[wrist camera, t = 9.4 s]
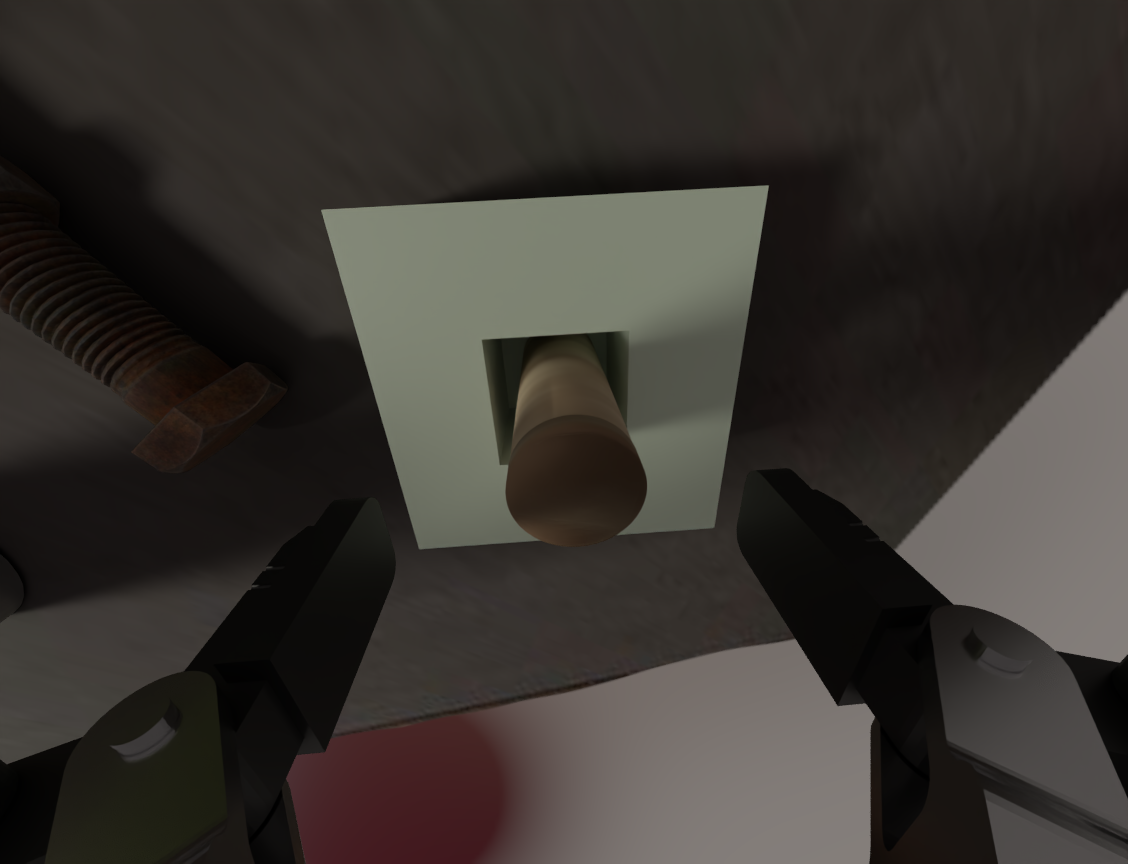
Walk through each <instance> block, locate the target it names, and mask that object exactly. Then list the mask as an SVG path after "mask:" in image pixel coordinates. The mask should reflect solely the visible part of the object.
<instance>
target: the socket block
mask: <svg viewBox="0 0 1128 864" xmlns="http://www.w3.org/2000/svg"><path fill="white" fill-rule="evenodd" d="M768 188H769V185H767V186H749V187H730V188H712V189H694V190H676V191H657V192H639V193H621V194H603V195H584V196H566V197H548V198H529V199H511V200H493V201H475V202H456V203H438V204H420V205H402V206H383V207H365V208H347V209H329V210H321V211H322V214H323V218H324V221H325V225H326V228H327V232H328V235H329V239H330V242H331V246H332V249H333V252H334V256H335V259H336V263H337V266H338V270H339V273H340V277H341V280H342V284H343V287H344V291H345V294H346V297H347V301H348V304H349V308H350V311H351V315H352V318H353V322H354V325H355V329H356V332H357V336H358V339H359V342H360V346H361V349H362V353H363V356H364V360H365V363H366V367H367V370H368V374H369V377H370V381H371V384H372V387H373V391H374V394H375V398H376V401H377V405H378V408H379V412H380V415H381V419H382V422H383V426H384V429H385V433H386V436H387V439H388V443H389V446H390V450H391V453H392V457H393V460H394V464H395V467H396V471H397V474H398V478H399V481H400V484H401V488H402V491H403V495H404V498H405V502H406V505H407V509H408V512H409V516H410V519H411V523H412V526H413V529H414V533H415V536H416V540H417V543H418V547H419V549H430V548H444V547H457V546H471V545H485V544H499V543H513V542H526V541H540V540H539V539H537V538H535V537H533V536H531V535H530V534H528V533H527V532H526V531H524V530H523V529H522V528H521V527H520V526H519V525H518V524H517V522H516V521H515V520H514V518H513V517H512V515H511V513H510V511H509V509H508V506H507V502H506V495H505V489H506V480H507V472H508V464H509V460H510V455H511V447H512V439H513V431H514V424H515V416H516V408H517V400H518V392H519V384H520V376H521V368H522V360H523V352H524V347H525V345H526V342H527V340H528V338H529V337H532V336H548V335H564V334H580V333H586V334H587V335H588V336H589V338H590V339H591V341H592V343H593V346H594V348H595V351H596V353H597V356H598V358H599V361H600V363H601V366H602V368H603V371H604V373H605V376H606V378H607V381H608V383H609V386H610V388H611V391H612V393H613V396H614V398H615V401H616V403H617V405H618V408H619V410H620V413H621V415H622V418H623V420H624V423H625V425H626V428H627V430H628V433H629V435H630V438H631V440H632V442H633V444H634V446H635V448H636V450H637V453H638V455H639V458H640V460H641V463H642V465H643V468H644V470H645V473H646V478H647V494H646V498H645V502H644V505H643V507H642V509H641V511H640V512H639V514H638V515H637V517H636V518H635V519H634V521H633V522H632V523H631V524H630V525H629V526H628V527H627V528H625V529H624V530H623V531H621V532H620V533H619V534H617V535H623V534H637V533H650V532H664V531H678V530H692V529H705V528H714V525H715V519H716V513H717V507H718V500H719V494H720V488H721V482H722V475H723V469H724V463H725V457H726V450H727V444H728V438H729V432H730V425H731V419H732V413H733V407H734V400H735V394H736V388H737V382H738V375H739V369H740V363H741V356H742V350H743V344H744V338H745V331H746V325H747V319H748V313H749V306H750V300H751V294H752V288H753V281H754V275H755V269H756V263H757V256H758V250H759V244H760V238H761V231H762V225H763V219H764V213H765V206H766V200H767V194H768Z"/></svg>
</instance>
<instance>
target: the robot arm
mask: <svg viewBox="0 0 1128 864" xmlns="http://www.w3.org/2000/svg"><path fill="white" fill-rule="evenodd" d="M737 540H738V544H739V547H740V550H741V552H742V554H743V556H744V558H745V559H746V561H747V562H748V564H749V566H750V567H751V569H752V570H753V572H754V574H755V575H756V577H757V578H758V580H759V582H760V583H761V585H762V586H763V588H764V589H765V591H766V593H767V594H768V596H769V597H770V599H771V601H772V602H773V604H774V605H775V607H776V609H777V610H778V612H779V613H780V615H781V617H782V618H783V620H784V621H785V623H786V624H787V626H788V628H789V629H790V631H791V632H792V634H793V636H794V637H795V639H796V640H797V642H798V644H799V645H800V647H801V648H802V650H803V651H804V653H805V655H806V656H807V658H808V659H809V661H810V663H811V664H812V666H813V667H814V669H815V671H816V672H817V674H818V675H819V677H820V678H821V680H822V682H823V683H824V685H825V686H826V688H827V689H828V691H829V693H830V694H831V696H832V698H833V699H834V701H835V702H836V704H837V705H838V706H842V705H852V704H863V703H866V704H867V705H868V707H869V709H870V710H871V711H872V713H873V714H874V716H875V718H874V720H873V723H872V725H871V847H870V861H869V864H1128V655H1127V656H1126V657H1125V658H1124V659H1123V660H1122V661H1121V662H1120V663H1118V662H1113V661H1107V660H1102V659H1096V658H1091V657H1085V656H1080V655H1074V654H1069V653H1064V652H1059V651H1054V649H1052V648H1051V647H1050V646H1049V645H1048V644H1046V643H1045V642H1044V641H1043V640H1041V639H1040V638H1039V637H1037V636H1036V635H1034V634H1033V633H1031V632H1030V631H1028V630H1027V629H1025V628H1023V627H1022V626H1020V625H1018V624H1016V623H1014V622H1012V621H1010V620H1008V619H1006V618H1004V617H1001V616H999V615H997V614H994V613H992V612H989V611H986V610H983V609H979V608H975V607H970V606H964V605H953V604H952V603H951V602H950V601H949V600H948V599H947V598H946V597H945V596H944V595H943V594H941V593H940V592H939V591H938V590H937V589H936V588H935V587H934V586H933V585H932V584H930V583H929V582H928V581H927V580H926V579H925V578H924V577H923V576H921V575H920V574H919V573H918V572H917V571H916V570H915V569H914V568H913V567H912V566H911V565H909V564H908V563H907V562H906V561H905V560H904V559H903V558H902V557H901V556H900V555H898V554H897V553H896V552H895V551H894V550H893V549H892V548H891V547H890V546H889V545H887V544H886V543H885V542H884V541H880V540H879V536H878V535H876V534H875V533H874V532H873V531H872V530H871V529H870V528H869V527H868V526H867V525H865V526H863V524H862V521H861V520H860V519H859V518H858V517H857V516H856V515H854V514H853V513H852V512H851V511H850V510H849V509H848V508H847V507H846V506H845V505H843V504H842V503H840V502H838V501H837V500H835V499H833V498H831V497H829V496H828V495H826V494H824V493H822V492H820V491H818V490H812V489H811V488H810V487H809V486H808V485H807V484H806V483H805V482H804V481H803V480H802V479H801V478H800V477H799V476H798V475H797V474H796V473H795V472H793V471H792V470H791V469H788V468H784V469H770V470H756V471H751V472H750V473H749V474H748V476H747V478H746V482H745V487H744V492H743V497H742V502H741V507H740V513H739V518H738V523H737ZM395 566H396V560H395V552H394V549H393V546H392V542H391V539H390V536H389V533H388V530H387V526H386V523H385V520H384V517H383V514H382V510H381V507H380V504H379V502H378V501H377V500H376V499H375V498H373V497H369V498H356V499H342V500H335V501H333V502H332V503H331V504H330V505H329V507H328V508H327V509H326V511H325V512H324V513H323V515H322V516H321V517H320V519H319V520H318V522H317V523H316V524H315V526H308V527H306V528H305V529H304V530H302V531H301V532H300V533H298V534H297V535H296V536H294V537H293V538H292V539H291V540H289V541H288V542H287V543H285V544H284V545H283V546H282V547H281V548H280V550H279V551H278V552H277V554H276V555H275V556H274V557H273V559H272V560H271V561H270V563H269V564H268V565H267V566H266V571H262V573H261V574H260V575H259V577H258V578H257V579H256V580H255V582H254V583H253V584H252V589H251V590H248V591H247V592H246V593H245V594H244V596H243V597H242V598H241V600H240V601H239V602H238V603H237V605H236V606H235V607H234V608H233V610H232V611H231V612H230V614H229V615H228V616H227V617H226V619H225V620H224V621H223V622H222V624H221V625H220V626H219V628H218V629H217V630H216V631H215V633H214V634H213V635H212V637H211V638H210V639H209V640H208V642H207V643H206V644H205V645H204V647H203V648H202V649H201V651H200V652H199V653H198V654H197V656H196V657H195V658H194V659H193V661H192V662H191V663H190V665H189V666H188V667H187V668H186V669H185V671H184V672H180V673H176V674H172V675H169V676H166V677H164V678H161V679H159V680H156V681H154V682H152V683H150V684H148V685H146V686H144V687H143V688H141V689H139V690H137V691H136V692H134V693H133V694H131V695H129V696H128V697H126V698H125V699H123V700H122V701H121V702H119V703H118V704H117V705H115V706H114V707H113V708H112V709H110V710H109V711H108V712H107V713H106V714H105V715H104V716H102V717H101V718H100V719H99V720H98V721H97V722H96V723H95V724H94V725H93V726H92V727H91V728H90V729H89V730H88V732H87V733H86V734H85V735H84V736H83V737H82V738H79V739H76V740H73V741H70V742H68V743H65V744H62V745H59V746H57V747H54V748H51V749H48V750H45V751H43V752H40V753H37V754H34V755H32V756H29V757H26V758H23V759H20V760H18V761H15V762H12V763H9V764H5V763H4V762H3V761H2V760H0V864H306V863H305V858H304V854H303V849H302V844H301V839H300V834H299V830H298V824H297V820H296V815H295V810H294V805H293V801H292V796H291V791H290V787H289V784H288V782H287V780H286V777H287V775H288V773H289V771H290V768H291V766H292V764H293V761H294V759H295V757H296V755H300V754H310V753H321V752H325V751H326V749H327V746H328V744H329V741H330V739H331V736H332V734H333V731H334V729H335V726H336V723H337V721H338V718H339V716H340V713H341V711H342V708H343V706H344V703H345V701H346V698H347V696H348V693H349V691H350V688H351V686H352V683H353V681H354V678H355V676H356V673H357V671H358V668H359V666H360V663H361V661H362V658H363V655H364V653H365V650H366V648H367V645H368V643H369V640H370V638H371V635H372V633H373V630H374V628H375V625H376V623H377V620H378V618H379V615H380V613H381V610H382V608H383V605H384V603H385V600H386V598H387V595H388V593H389V590H390V588H391V585H392V582H393V579H394V575H395ZM23 598H24V588H23V584H22V582H21V579H20V577H19V575H18V573H17V572H16V571H15V569H14V568H13V567H12V566H11V564H10V563H9V562H8V561H7V560H6V559H5V558H4V557H3V556H2V555H1V554H0V623H1V622H2V621H3V620H5V619H6V618H7V617H9V616H10V615H11V614H13V613H14V612H15V611H16V610H17V609H18V608H19V607H20V606H21V604H22V601H23Z"/></svg>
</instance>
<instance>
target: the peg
mask: <svg viewBox="0 0 1128 864" xmlns="http://www.w3.org/2000/svg"><path fill="white" fill-rule="evenodd" d="M646 494H647V478H646V473H645V470H644V468H643V465H642V463H641V460H640V458H639V455H638V453H637V450H636V448H635V446H634V444H633V442H632V440H631V438H630V435H629V433H628V430H627V428H626V425H625V423H624V420H623V418H622V415H621V413H620V410H619V408H618V405H617V403H616V401H615V398H614V396H613V393H612V391H611V388H610V386H609V383H608V381H607V378H606V376H605V373H604V371H603V368H602V366H601V363H600V361H599V358H598V356H597V353H596V351H595V348H594V346H593V343H592V341H591V339H590V338H589V336H588V335H587V334H586V333H580V334H564V335H548V336H532V337H529V338H528V340H527V342H526V345H525V347H524V352H523V360H522V368H521V376H520V384H519V392H518V400H517V408H516V416H515V424H514V431H513V439H512V447H511V455H510V460H509V464H508V472H507V480H506V489H505V495H506V502H507V506H508V509H509V511H510V513H511V515H512V517H513V518H514V520H515V521H516V522H517V524H518V525H519V526H520V527H521V528H522V529H523V530H524V531H526V532H527V533H528V534H530V535H531V536H533V537H535V538H537V539H539V540H541V541H544V542H546V543H550V544H553V545H558V546H567V547H580V546H588V545H592V544H596V543H599V542H602V541H605V540H607V539H609V538H612V537H613V536H615V535H617V534H619V533H620V532H621V531H623V530H624V529H625V528H627V527H628V526H629V525H630V524H631V523H632V522H633V521H634V519H635V518H636V517H637V515H638V514H639V512H640V511H641V509H642V507H643V505H644V502H645V498H646Z"/></svg>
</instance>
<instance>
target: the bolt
mask: <svg viewBox="0 0 1128 864" xmlns="http://www.w3.org/2000/svg"><path fill="white" fill-rule="evenodd" d="M59 217H60V202H59V201H58V200H57V199H56V198H54V197H53V196H52V195H51V194H50V193H49V192H47V191H46V190H45V189H44V188H43V187H41V186H40V185H39V184H38V183H37V182H36V181H34V180H33V179H32V178H31V177H30V176H29V175H27V174H26V173H25V172H24V171H22V170H21V169H19V168H18V167H16V166H15V165H14V164H12V163H11V162H9V161H8V160H6V159H5V158H3V157H2V156H0V308H1V309H2V310H3V312H4V313H6V314H9V315H11V316H12V317H13V319H14V320H16V321H17V322H21V324H22V325H23V326H24V327H25V328H27V329H29V330H32V331H33V332H34V334H35V335H37V336H39V337H41V338H42V340H44V341H45V342H47V343H49V344H51V345H52V346H53V347H54V348H55V349H56V350H59V351H61V352H62V353H63V354H64V355H65V357H68V358H70V359H72V360H73V362H74V363H75V364H77V365H79V366H81V367H82V369H83V370H85V371H87V372H89V373H91V374H92V376H93V377H94V378H96V379H98V380H101V383H103V384H104V385H106V386H108V387H111V389H112V391H113V392H115V393H117V394H118V395H119V396H120V397H121V398H122V400H123V402H124V403H125V404H127V405H128V406H130V407H131V408H132V409H134V410H135V411H136V412H138V413H139V414H140V415H142V416H143V417H145V418H146V419H147V420H149V421H150V422H151V423H153V424H154V425H155V427H154V428H153V429H152V430H151V431H150V432H149V433H148V434H147V435H146V436H145V438H144V439H143V440H142V441H141V442H140V443H139V444H138V445H137V446H136V447H135V448H134V449H133V450H132V452H131V453H133V454H134V455H136V456H137V457H139V458H140V459H142V460H143V461H145V462H146V463H148V464H149V465H151V466H152V467H154V468H155V469H157V470H158V471H160V472H166V473H183V472H187V471H189V470H190V469H192V468H193V467H195V466H197V465H198V464H200V463H202V462H203V461H205V460H206V459H208V458H209V457H211V456H212V455H214V454H215V453H216V452H218V451H219V450H221V449H222V448H224V447H225V446H227V445H228V444H230V443H231V442H232V441H233V440H235V439H236V438H237V437H238V436H240V435H241V434H242V433H243V432H245V431H246V430H247V429H248V428H250V427H251V426H252V425H253V424H254V423H256V422H257V421H258V420H259V419H260V418H261V417H263V416H264V415H265V414H266V413H267V412H268V411H269V410H270V409H272V408H273V407H274V406H275V405H276V404H277V403H278V402H279V401H280V400H281V398H282V397H283V396H284V395H285V393H286V391H287V390H288V386H287V384H286V383H285V382H284V381H282V380H281V379H280V378H279V377H278V376H277V375H276V374H274V373H273V372H272V371H271V370H270V369H269V368H267V367H266V366H265V365H261V364H256V363H250V362H245V363H243V364H242V365H240V366H238V367H237V368H235V369H234V370H233V369H232V368H231V367H230V366H228V365H227V364H226V363H225V362H224V361H222V360H221V359H220V358H219V357H217V356H216V355H215V354H214V353H213V352H211V351H210V350H209V349H208V348H206V347H204V346H201V345H199V344H198V343H197V342H194V341H192V339H191V338H190V336H189V335H184V331H182V330H181V329H179V328H176V325H175V324H174V323H173V322H168V319H167V317H165V316H163V315H161V314H160V313H159V311H158V310H157V309H155V308H152V305H151V304H150V303H148V302H146V301H144V300H143V298H142V297H141V296H139V295H138V294H136V293H135V292H134V290H133V289H132V288H130V287H128V286H127V285H126V284H125V283H124V282H123V281H122V280H120V279H118V278H117V277H116V275H115V274H114V273H112V272H109V270H108V269H107V268H106V267H105V266H104V265H102V264H100V263H99V261H98V260H96V259H95V258H93V257H92V256H90V254H89V253H88V252H87V251H86V250H84V249H82V248H81V246H80V245H79V244H77V243H76V242H75V241H72V239H71V238H70V237H69V236H68V235H67V234H65V233H63V232H62V231H61V229H60V228H59V227H58V225H59Z"/></svg>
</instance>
